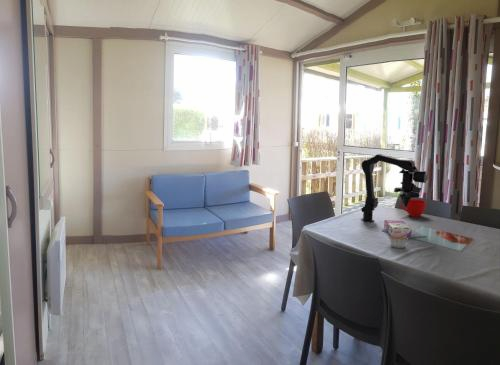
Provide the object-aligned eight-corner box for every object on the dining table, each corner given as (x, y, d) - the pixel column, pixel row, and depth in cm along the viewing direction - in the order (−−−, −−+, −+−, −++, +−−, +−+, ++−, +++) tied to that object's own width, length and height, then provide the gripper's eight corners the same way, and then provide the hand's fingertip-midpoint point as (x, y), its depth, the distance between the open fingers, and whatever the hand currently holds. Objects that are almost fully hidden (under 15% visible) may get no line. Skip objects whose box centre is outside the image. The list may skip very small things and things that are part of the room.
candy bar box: (383, 228, 234) (390, 235, 218) (383, 220, 233) (391, 227, 217) (402, 228, 233) (411, 236, 217) (403, 220, 232) (412, 227, 216)
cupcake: (411, 248, 198) (412, 229, 197) (395, 250, 196) (397, 231, 194) (399, 243, 207) (400, 224, 206) (384, 244, 205) (385, 226, 203)
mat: (381, 230, 230) (381, 229, 230) (409, 229, 233) (409, 228, 233) (397, 238, 214) (397, 237, 214) (426, 236, 218) (426, 236, 218)
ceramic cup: (395, 213, 271) (396, 199, 269) (418, 213, 273) (419, 199, 271) (404, 218, 258) (405, 203, 257) (428, 217, 260) (429, 203, 259)
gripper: (429, 183, 226) (426, 209, 228) (411, 178, 244) (409, 202, 246) (411, 183, 224) (409, 210, 226) (394, 178, 242) (392, 203, 245)
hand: (405, 206), depth 236 cm, fingers closed
